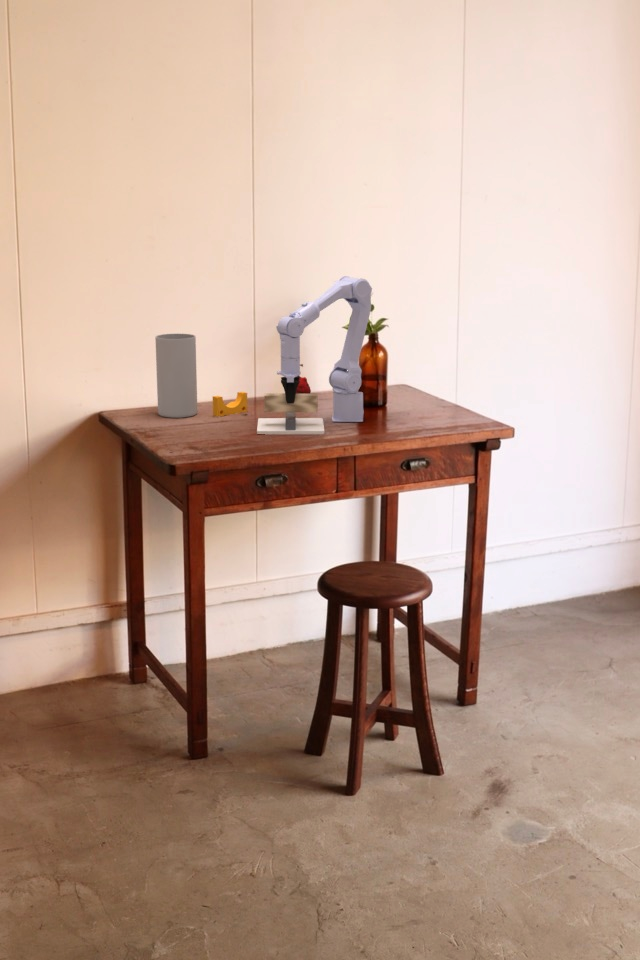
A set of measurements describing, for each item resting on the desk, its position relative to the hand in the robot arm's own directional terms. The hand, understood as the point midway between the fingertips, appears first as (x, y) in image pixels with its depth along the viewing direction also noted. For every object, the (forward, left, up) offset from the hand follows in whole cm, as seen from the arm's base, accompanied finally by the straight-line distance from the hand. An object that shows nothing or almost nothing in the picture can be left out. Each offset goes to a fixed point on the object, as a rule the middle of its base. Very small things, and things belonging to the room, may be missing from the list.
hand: (290, 401), depth 349 cm
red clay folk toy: (-3, -38, -8) cm, 39 cm away
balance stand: (0, 0, -8) cm, 8 cm away
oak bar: (0, 0, -3) cm, 3 cm away
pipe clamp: (+20, -21, -8) cm, 30 cm away
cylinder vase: (+36, -20, -8) cm, 42 cm away
